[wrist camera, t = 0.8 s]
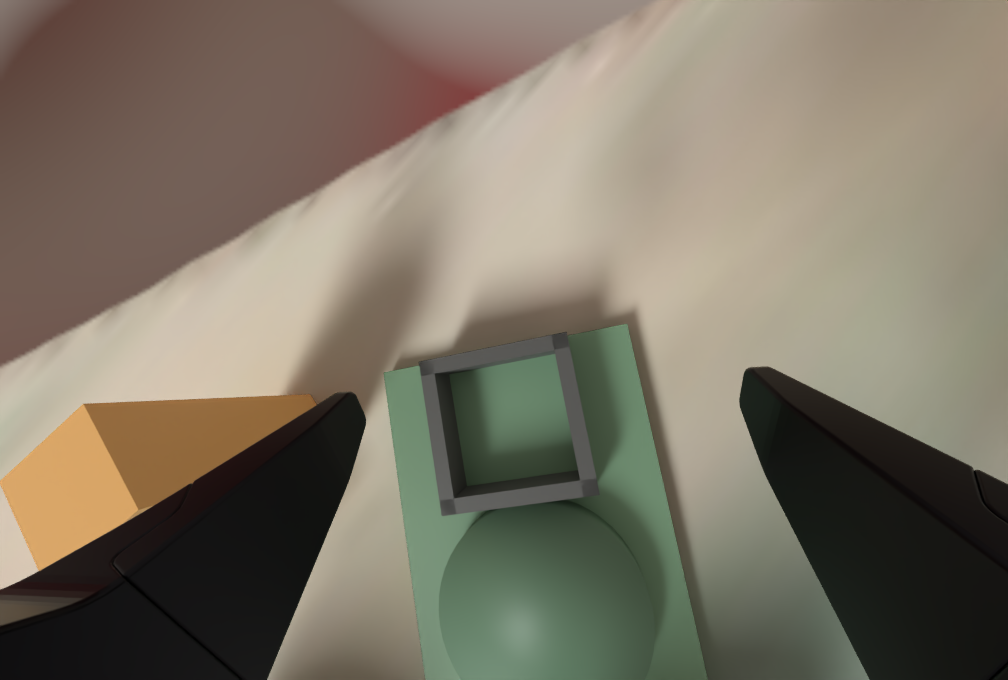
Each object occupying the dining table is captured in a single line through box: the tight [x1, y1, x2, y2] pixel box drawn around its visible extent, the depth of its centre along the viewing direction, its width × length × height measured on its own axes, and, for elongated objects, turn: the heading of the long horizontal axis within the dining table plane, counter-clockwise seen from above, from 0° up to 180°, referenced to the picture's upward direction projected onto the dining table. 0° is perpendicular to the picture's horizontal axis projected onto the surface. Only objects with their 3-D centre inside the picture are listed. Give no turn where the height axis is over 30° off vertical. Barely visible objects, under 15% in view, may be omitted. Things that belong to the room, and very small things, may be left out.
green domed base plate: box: [384, 324, 708, 680], centre depth 21 cm, size 20×15×4 cm
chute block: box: [0, 394, 317, 571], centre depth 20 cm, size 5×5×12 cm
